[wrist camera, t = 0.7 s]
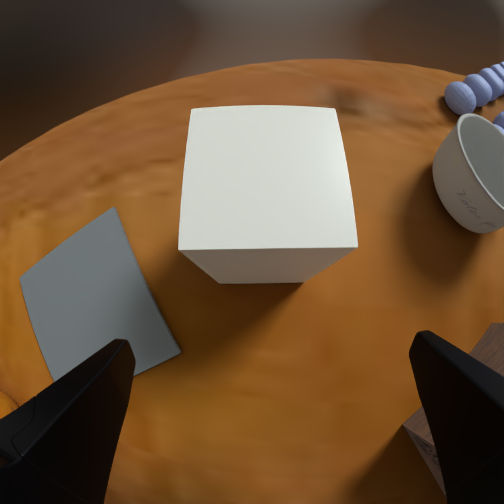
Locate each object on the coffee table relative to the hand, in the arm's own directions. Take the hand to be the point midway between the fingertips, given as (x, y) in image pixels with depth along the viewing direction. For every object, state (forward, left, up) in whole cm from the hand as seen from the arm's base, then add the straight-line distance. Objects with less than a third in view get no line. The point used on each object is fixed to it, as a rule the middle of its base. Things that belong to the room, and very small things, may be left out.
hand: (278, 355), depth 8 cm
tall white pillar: (+5, +5, -14) cm, 15 cm away
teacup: (+24, -9, -14) cm, 29 cm away
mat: (-10, +13, -14) cm, 21 cm away
